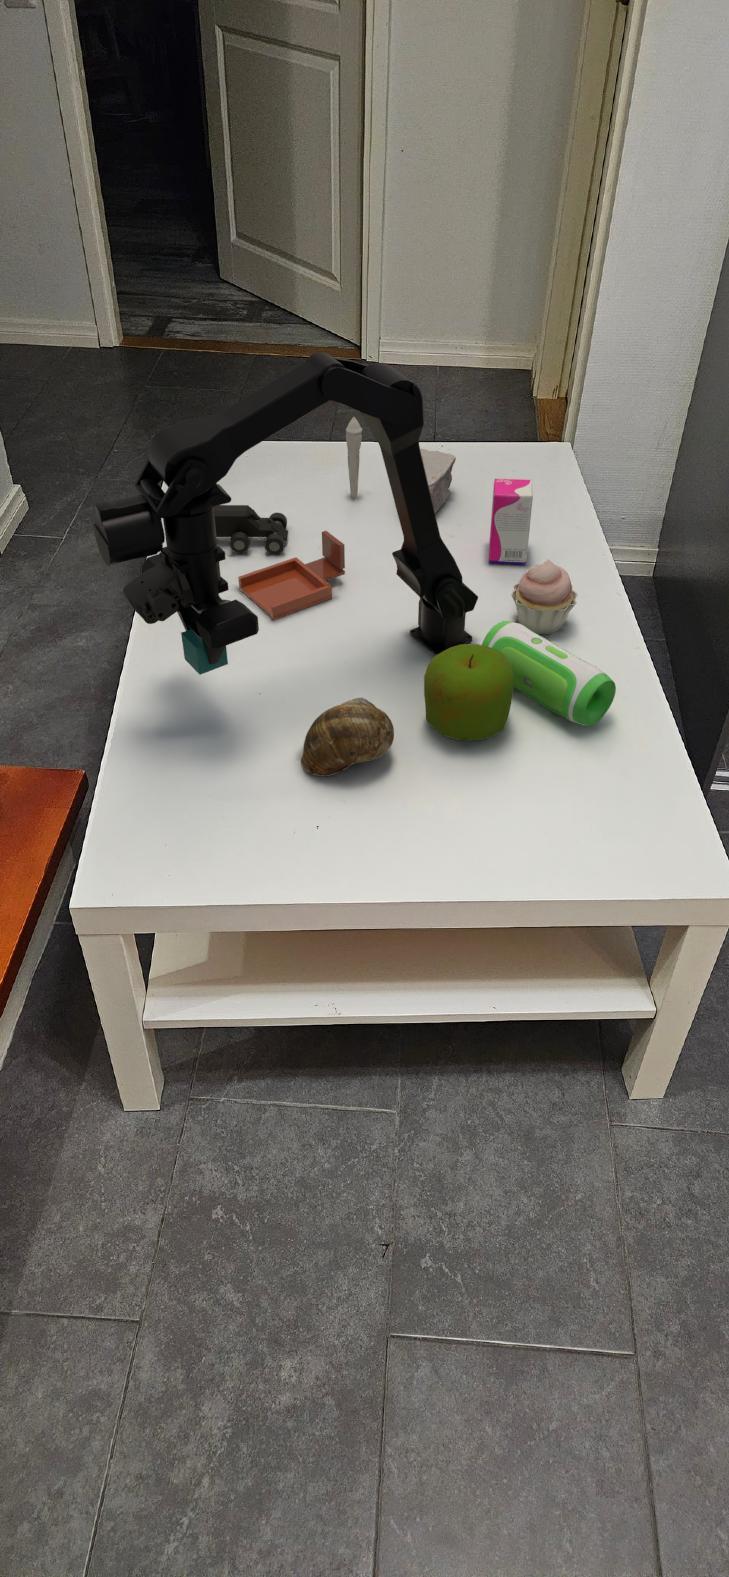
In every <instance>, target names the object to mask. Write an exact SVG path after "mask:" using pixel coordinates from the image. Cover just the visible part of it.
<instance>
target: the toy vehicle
mask: <svg viewBox="0 0 729 1577" xmlns="http://www.w3.org/2000/svg"><path fill="white" fill-rule="evenodd" d="M213 509H214V518H215V528H216V537H217V538H230V539H229V548H230V549H231V551H232V552H234V553H235V554H244V553H246V552H247V551H248V550H249V548H250V543H251V542H250V538H265V541H264V549H265V552H267V553H268V554H270V555H273V556H277V555H280V554H282V553H283V551H284V549H285V542H287V541H288V537H289V530H288V529H287V526H288V518H287V516H286V515H285V514H283V513H282V512H274V513H272V514H270V515H269V517H261V516H259V514H258V513H257V512H256V511H255V509H253V508H252V507H251V506H249V504H243V505H242V504H222V505H218V506H214V507H213Z"/></svg>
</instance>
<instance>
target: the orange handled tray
mask: <svg viewBox="0 0 729 1577" xmlns="http://www.w3.org/2000/svg"><path fill="white" fill-rule="evenodd" d="M345 549H346V548H345V544H344V543H343V542H342V541H341V540H340V539H338V538H337V537H335V536H334V535H332V534H331V533H330V532H329V531H327V530H323V531H321V552H322V553H321V555H322V557H321V558H318V559H316V560H313V561H310V562H307V563H304V562H303V561H302V560H300V559H299V558H298V557H297V556H295V557H291V558H289V559H286V560H283V561H280V562H278V563H275V564H271V565H269V566H265V567H263V568H260V569H258V570H254V571H251V572H248V573H245V574H242V575H240V576H238V577H237V578H238V579H237V580H238V587H239V590H240V591H241V592H242V593H243V594H244V595H245V596H246V597H248V599H249V600H251V601H252V602H253V603H254V604H255V605H257V607H259V608H260V609H261V610H262V611H263V612H264V613H265V614H266V615H268V617H270V618H271V619H272V620H273V621H275V620H277V619H280V618H283V617H285V616H289V615H291V614H294V613H297V612H299V611H302V610H305V609H308V608H310V607H313V606H316V605H318V604H321V603H324V602H327V601H330V600H332V599H333V585H331V584H330V583H328V581H330V580H333V579H336V578H339V577H341V576H344V575H346V571H345V568H346V559H345V558H346V556H345V551H346V550H345Z"/></svg>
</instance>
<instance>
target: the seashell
mask: <svg viewBox="0 0 729 1577" xmlns="http://www.w3.org/2000/svg"><path fill="white" fill-rule="evenodd" d="M394 738H395V728H394V724H393V722H392V720H391V718H390V717H389V715H388V714H387V713H386V712H385V711H384V710H382V709H380V708H379V707H376V705H375V704H374V703H373V702H371V701H369V700H368V699H367V698H364V697H356V698H352V699H350V700H347V701H344V702H342V703H340V704H337V705H334V706H332V707H330V708H328V709H326V710H325V711H324V712H321V714H320V715H319V716H317V717H316V718H315V720H314V721H313V722H312V724H311V725H310V727H309V728H308V731H307V733H306V735H305V738H304V742H303V751H302V756H301V758H300V764H301V765H302V767H303V769H304V770H305V771H306V772H308V773H309V774H311V775H314V776H319V777H320V776H321V777H327V776H333V775H336V774H339V773H342V772H343V771H345V770H347V769H348V768H349V767H351V766H352V765H354V764H359V763H364V762H365V763H366V762H369V761H374V760H377V759H380V758H381V757H382V756H384V755H386V753H387V752H388V751H389V750H390V749H391V746H392V745H393V743H394Z"/></svg>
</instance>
